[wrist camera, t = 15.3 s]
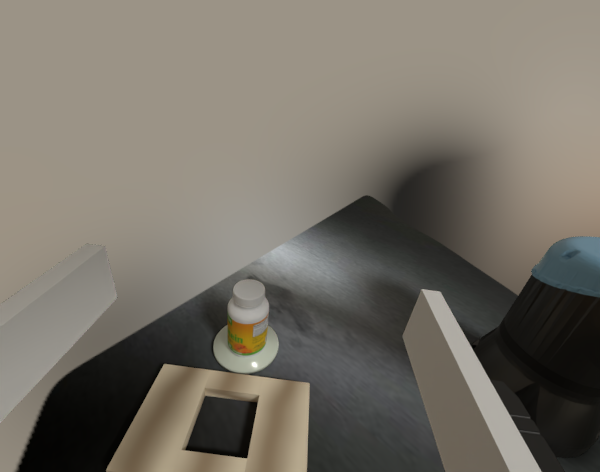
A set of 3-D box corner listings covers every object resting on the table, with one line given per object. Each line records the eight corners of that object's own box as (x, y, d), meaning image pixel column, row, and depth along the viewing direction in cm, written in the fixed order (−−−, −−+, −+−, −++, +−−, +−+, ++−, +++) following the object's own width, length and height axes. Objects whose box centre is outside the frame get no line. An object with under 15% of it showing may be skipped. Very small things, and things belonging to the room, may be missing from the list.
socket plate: (307, 390, 36) (309, 383, 35) (303, 503, 26) (305, 496, 26) (165, 371, 36) (164, 363, 35) (108, 478, 26) (105, 470, 26)
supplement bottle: (219, 342, 40) (217, 287, 36) (249, 322, 44) (251, 270, 39) (244, 366, 37) (246, 310, 33) (274, 343, 41) (279, 290, 36)
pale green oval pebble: (281, 326, 45) (281, 323, 45) (273, 378, 37) (273, 375, 37) (224, 318, 45) (224, 315, 45) (203, 369, 37) (203, 366, 37)
